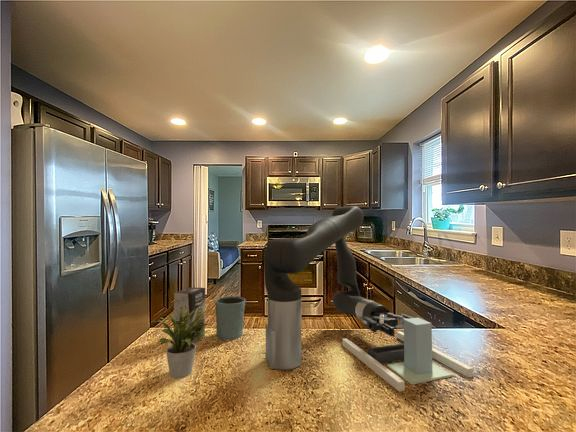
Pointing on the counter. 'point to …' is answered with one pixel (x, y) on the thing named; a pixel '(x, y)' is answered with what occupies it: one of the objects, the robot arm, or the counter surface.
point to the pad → (415, 379)
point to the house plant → (181, 344)
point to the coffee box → (190, 307)
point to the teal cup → (229, 317)
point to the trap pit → (387, 353)
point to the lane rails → (393, 378)
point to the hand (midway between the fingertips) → (406, 330)
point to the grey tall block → (418, 345)
